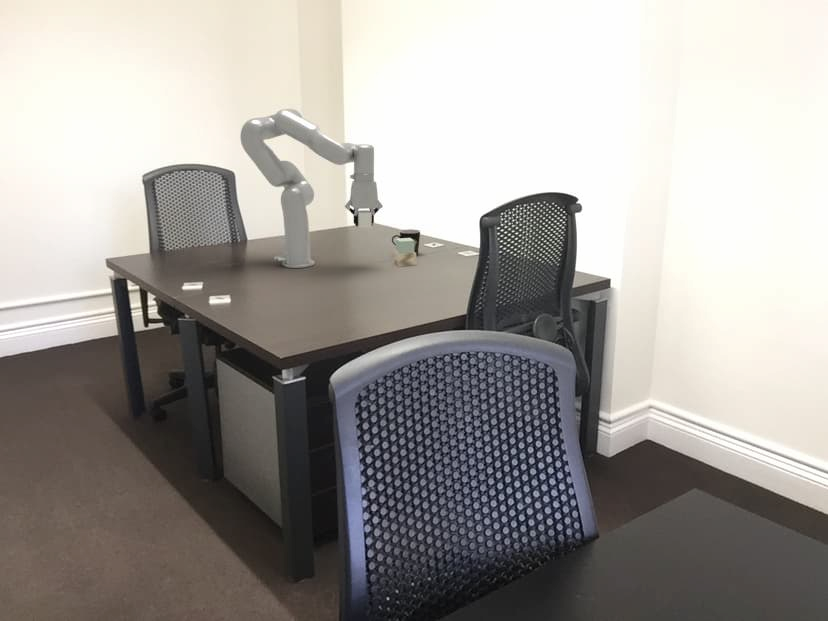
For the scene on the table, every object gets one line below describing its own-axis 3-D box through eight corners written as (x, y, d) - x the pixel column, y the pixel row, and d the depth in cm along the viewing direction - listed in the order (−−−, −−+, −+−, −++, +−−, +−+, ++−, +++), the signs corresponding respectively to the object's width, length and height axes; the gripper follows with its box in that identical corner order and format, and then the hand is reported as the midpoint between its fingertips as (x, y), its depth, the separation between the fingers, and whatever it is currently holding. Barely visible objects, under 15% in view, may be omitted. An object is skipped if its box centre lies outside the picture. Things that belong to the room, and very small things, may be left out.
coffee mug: (421, 252, 310) (421, 229, 308) (419, 257, 302) (419, 233, 299) (394, 252, 312) (393, 229, 309) (391, 256, 303) (391, 233, 300)
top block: (358, 228, 278) (358, 212, 276) (356, 225, 283) (356, 210, 281) (371, 227, 280) (371, 212, 278) (368, 225, 284) (368, 210, 282)
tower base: (399, 266, 287) (398, 254, 285) (394, 262, 293) (394, 250, 292) (416, 265, 289) (416, 253, 287) (411, 261, 295) (411, 249, 294)
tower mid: (399, 254, 286) (399, 241, 285) (395, 251, 292) (395, 238, 290) (414, 253, 287) (414, 240, 286) (410, 250, 293) (410, 237, 292)
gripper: (343, 179, 270) (343, 227, 275) (388, 178, 275) (387, 226, 280) (339, 176, 277) (340, 224, 282) (383, 176, 281) (382, 223, 287)
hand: (363, 224), depth 281 cm, fingers closed on top block, 4 cm apart
